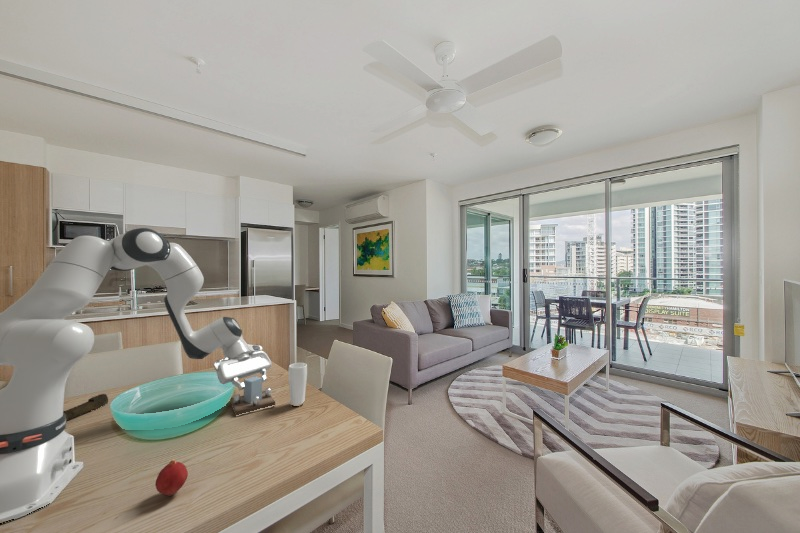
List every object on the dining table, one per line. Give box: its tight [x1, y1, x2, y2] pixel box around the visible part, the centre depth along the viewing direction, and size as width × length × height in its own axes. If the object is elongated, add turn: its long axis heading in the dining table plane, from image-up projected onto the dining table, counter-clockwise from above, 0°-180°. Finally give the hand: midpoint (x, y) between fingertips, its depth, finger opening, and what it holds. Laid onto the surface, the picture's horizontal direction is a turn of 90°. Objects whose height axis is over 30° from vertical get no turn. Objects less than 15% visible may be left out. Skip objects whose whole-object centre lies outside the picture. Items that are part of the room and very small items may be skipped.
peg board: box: [230, 387, 276, 416], centre depth 114 cm, size 13×13×5 cm
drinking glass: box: [288, 362, 308, 405], centre depth 115 cm, size 7×7×15 cm
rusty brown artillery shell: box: [63, 393, 109, 422], centre depth 105 cm, size 19×4×5 cm, turn 174°
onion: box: [154, 458, 189, 497], centre depth 68 cm, size 6×6×8 cm
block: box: [243, 375, 263, 403], centre depth 114 cm, size 4×4×8 cm
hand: (254, 384), depth 114 cm, fingers open, 8 cm apart
